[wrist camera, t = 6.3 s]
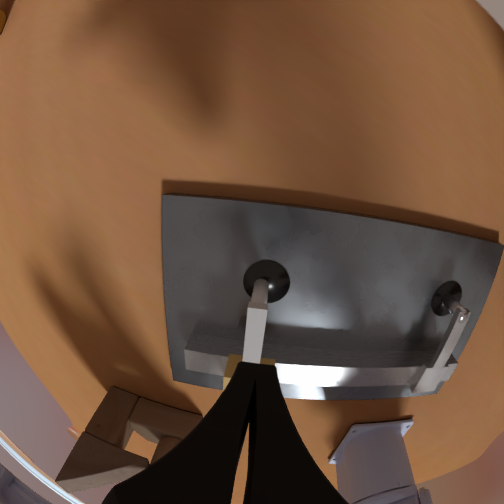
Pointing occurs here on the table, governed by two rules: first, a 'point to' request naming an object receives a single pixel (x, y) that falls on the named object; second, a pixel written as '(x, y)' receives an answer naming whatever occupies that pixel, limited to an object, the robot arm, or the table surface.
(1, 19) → the dumbbell
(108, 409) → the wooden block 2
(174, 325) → the hole plate
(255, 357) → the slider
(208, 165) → the table surface
